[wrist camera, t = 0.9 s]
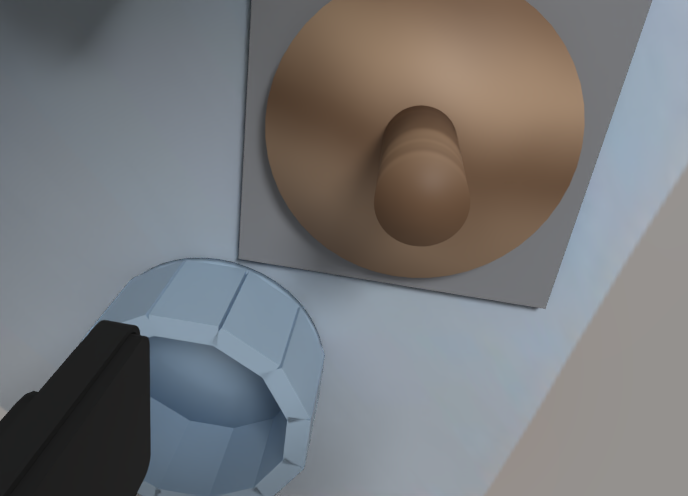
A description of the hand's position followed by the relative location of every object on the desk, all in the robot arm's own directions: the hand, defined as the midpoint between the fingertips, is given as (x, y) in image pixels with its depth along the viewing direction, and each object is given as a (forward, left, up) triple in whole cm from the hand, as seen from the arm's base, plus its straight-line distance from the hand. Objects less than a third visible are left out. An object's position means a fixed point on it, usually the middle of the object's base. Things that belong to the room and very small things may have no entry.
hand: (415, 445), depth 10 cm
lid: (0, 0, -16) cm, 16 cm away
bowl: (+12, -8, -16) cm, 22 cm away
